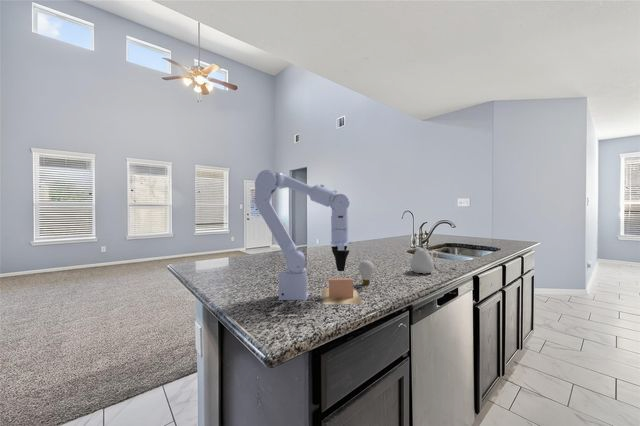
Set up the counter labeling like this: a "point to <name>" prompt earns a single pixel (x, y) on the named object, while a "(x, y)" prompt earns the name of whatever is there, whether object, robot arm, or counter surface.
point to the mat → (340, 300)
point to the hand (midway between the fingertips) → (340, 268)
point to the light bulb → (366, 271)
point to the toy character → (422, 261)
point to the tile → (340, 287)
